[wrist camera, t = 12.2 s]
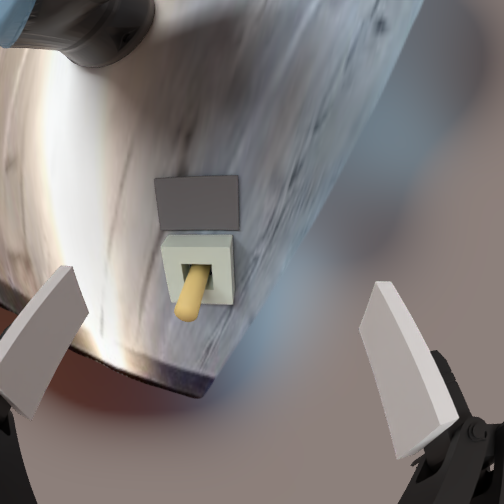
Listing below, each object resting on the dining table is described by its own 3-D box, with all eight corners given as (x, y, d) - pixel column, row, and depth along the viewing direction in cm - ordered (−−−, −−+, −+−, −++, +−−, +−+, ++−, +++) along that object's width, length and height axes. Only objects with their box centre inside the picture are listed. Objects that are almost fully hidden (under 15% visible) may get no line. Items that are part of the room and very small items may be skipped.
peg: (194, 271, 45) (176, 321, 34) (192, 255, 43) (172, 303, 33) (212, 271, 45) (198, 322, 34) (210, 255, 43) (196, 304, 33)
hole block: (177, 287, 46) (171, 302, 43) (168, 234, 42) (160, 246, 38) (234, 289, 46) (232, 304, 43) (232, 234, 41) (230, 247, 38)
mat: (161, 228, 41) (160, 230, 41) (155, 178, 37) (154, 179, 37) (239, 228, 41) (238, 229, 40) (237, 175, 37) (237, 175, 37)
